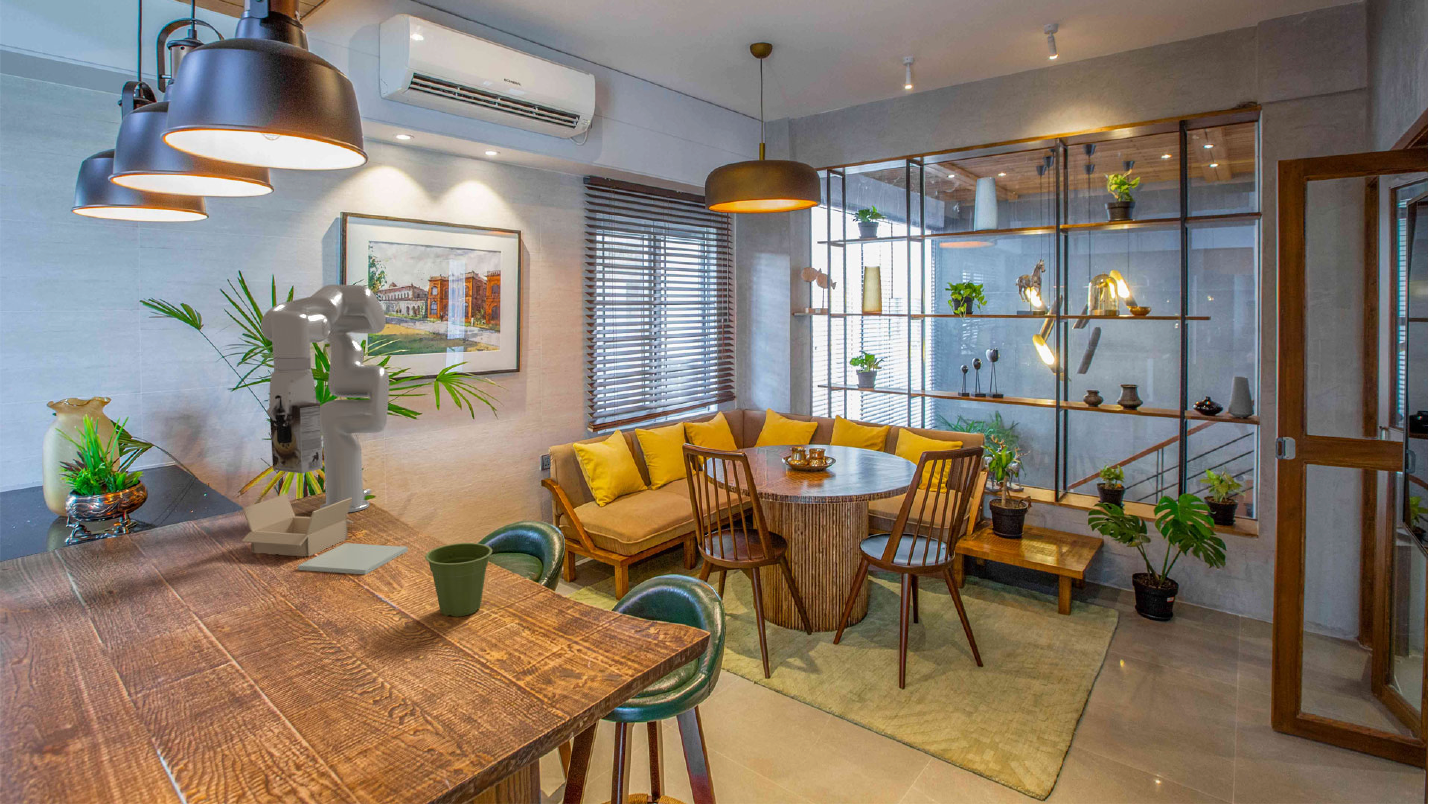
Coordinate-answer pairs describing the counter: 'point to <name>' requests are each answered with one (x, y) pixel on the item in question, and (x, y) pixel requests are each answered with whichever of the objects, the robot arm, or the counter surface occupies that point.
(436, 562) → the plant pot
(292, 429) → the coffee box
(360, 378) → the robot arm
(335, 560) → the tile
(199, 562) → the counter surface
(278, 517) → the carton
